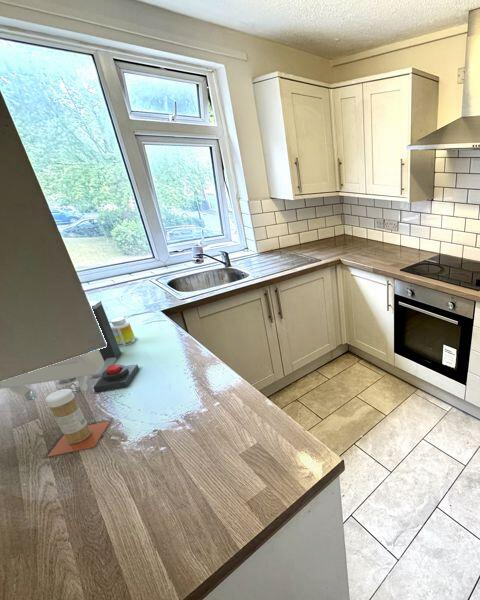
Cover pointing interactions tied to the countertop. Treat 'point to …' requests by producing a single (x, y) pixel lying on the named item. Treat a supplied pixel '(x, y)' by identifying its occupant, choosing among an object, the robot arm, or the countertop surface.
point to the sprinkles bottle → (68, 415)
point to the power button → (113, 369)
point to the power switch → (116, 378)
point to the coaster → (87, 443)
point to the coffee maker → (112, 347)
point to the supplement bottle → (122, 331)
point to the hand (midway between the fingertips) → (57, 394)
